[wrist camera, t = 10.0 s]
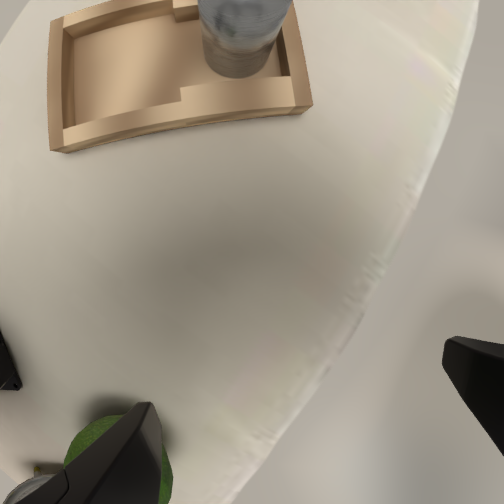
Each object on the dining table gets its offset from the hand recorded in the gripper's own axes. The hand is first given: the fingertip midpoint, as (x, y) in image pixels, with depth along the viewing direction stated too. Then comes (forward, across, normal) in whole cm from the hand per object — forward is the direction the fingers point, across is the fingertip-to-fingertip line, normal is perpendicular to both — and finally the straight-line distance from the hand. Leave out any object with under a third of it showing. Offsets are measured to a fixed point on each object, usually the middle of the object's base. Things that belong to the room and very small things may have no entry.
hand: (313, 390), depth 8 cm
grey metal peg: (+12, 0, -14) cm, 18 cm away
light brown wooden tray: (+12, +4, -14) cm, 19 cm away
